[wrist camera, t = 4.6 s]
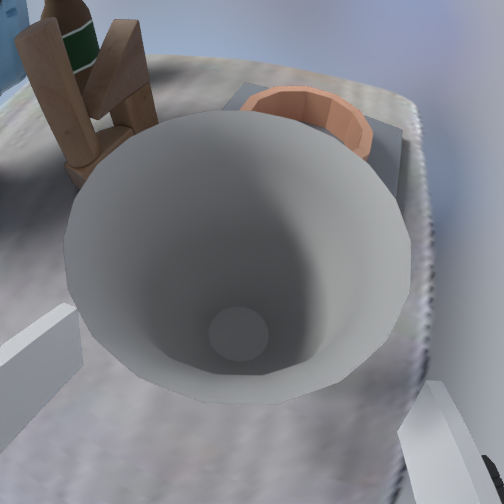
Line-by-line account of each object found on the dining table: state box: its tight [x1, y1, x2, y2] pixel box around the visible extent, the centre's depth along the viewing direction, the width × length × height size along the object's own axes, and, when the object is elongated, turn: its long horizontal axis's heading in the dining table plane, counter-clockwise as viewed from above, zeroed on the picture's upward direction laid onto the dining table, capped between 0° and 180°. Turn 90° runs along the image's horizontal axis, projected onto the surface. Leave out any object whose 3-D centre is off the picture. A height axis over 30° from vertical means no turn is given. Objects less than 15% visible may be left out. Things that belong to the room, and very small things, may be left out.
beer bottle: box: [41, 0, 100, 96], centre depth 29 cm, size 8×8×24 cm
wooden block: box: [14, 17, 159, 190], centre depth 24 cm, size 4×11×18 cm, turn 150°
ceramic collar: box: [239, 86, 373, 162], centre depth 28 cm, size 12×12×4 cm
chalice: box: [63, 111, 411, 404], centre depth 14 cm, size 7×7×18 cm
